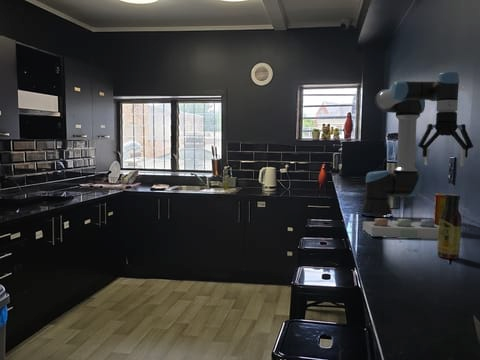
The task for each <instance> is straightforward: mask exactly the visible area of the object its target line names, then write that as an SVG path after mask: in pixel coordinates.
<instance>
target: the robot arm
mask: <svg viewBox="0 0 480 360" xmlns="http://www.w3.org/2000/svg"><path fill="white" fill-rule="evenodd" d="M459 85H460V75H459V73H458V71H444V72H440V73H438V76H437V81H411V80H410V81H408V80H407V81H406V80H401V81H398V80H397V81H394V82H393V84H392V86H391V88H388V89H387V88H386V89H381V90H380V91H379V92H377V94H376V95H375V96H374V97H375V98H374V104H375V105H376V107H377V108H378V109H379V110H381V111H382V112H385V113H395V118H396V119H397V120H398V126H397V127H398V128H397V129H398V130H397V131H398V132H397V151H396V153H397V155H396V167H395V168H394V169H393V173H392V172H391V170H374V171H369V172H367V174H366V177H365V192H364V194H365V196H364V197H365V199H364V202H363V205H362V208H361V211H362V212H364V213H370V214H381V215H387V214H392V215H393V212H392V209H391V205H390V197H405V198H406V197H407V198H408V197H416V196H417V195H418V194H419V193H420V190H421V188H422V180H423V179H422V175H421V174H420V173H418V171H419V170H418V169H417V168H416V162H415V160H416V141H417V140H416V139H417V122H418V121H417V120H419V119H418V118H420V117H421V114H422V113H424V111H425V108H426V101H431V102H436V116H435V124H432V123H428V124H427V125H426V130H425V132H424V134H423V135H422V138H421V139H420V141H419V143H418V144H417V147H418V148H421V149H422V158H423V157H424V166H429V165H430V161H429V160H430V149H429V146H431V145H432V143H433V142H434V141H436V139H437V138H438V137H439V136H442V137H443V136H446V137H447V136H452V137H453V139H454V140H455V141H456V142H457V143H458V144H459V146H460V147H461V148H462V149H460V155H459V156H460V157H459V166H460V167H465V165H466V163H465V162H466V158H468V151H469V149H472V148H474V144H473V142H472V140H471V139H470V136H469V134H468V132H467V130H466V129H467V127H466V124H465V123H462V124H458V123H457V122H458V105H459V104H458V103H459ZM434 129H435V132H434V133H433V134H432V136H431V137H430V138H429V139H428V137H429V136H430V134H431V133H432V130H434ZM457 130H459V131H460V133H461V136H462V138H461V136H459V134H458V132H457ZM427 139H428V140H427ZM463 139H464V140H463Z"/></svg>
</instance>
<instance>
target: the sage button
mask: <svg viewBox="0 0 480 360" xmlns="http://www.w3.org/2000/svg"><path fill="white" fill-rule="evenodd" d="M397 222H398V225H397V226H399V227H411V223H412V219H410V218H409V219H408V218H397Z"/></svg>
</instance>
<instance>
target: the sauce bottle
mask: <svg viewBox="0 0 480 360" xmlns="http://www.w3.org/2000/svg"><path fill="white" fill-rule="evenodd" d="M445 194H446V195H445V199H446V201H445V208H444V211H443V213H442V215H441V217H440V221H439V235H438V239H437V256H438V257H439V258H443V259H445V260H447V259H448V260H457V259H459V257H460V255H459V254H460V251H461V250H460V249H461V239H462V238H461V237H462V236H461V235H462V221H463V220H462V219H463V218H462V215H461V212H460V211H459V205H460V204H459V203H460V199H461V195H460V194H457V193H456V194H455V193H445Z"/></svg>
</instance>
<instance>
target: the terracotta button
mask: <svg viewBox="0 0 480 360" xmlns="http://www.w3.org/2000/svg"><path fill="white" fill-rule="evenodd" d="M373 222H374V226H388V222H389V218H374V221H373Z"/></svg>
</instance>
